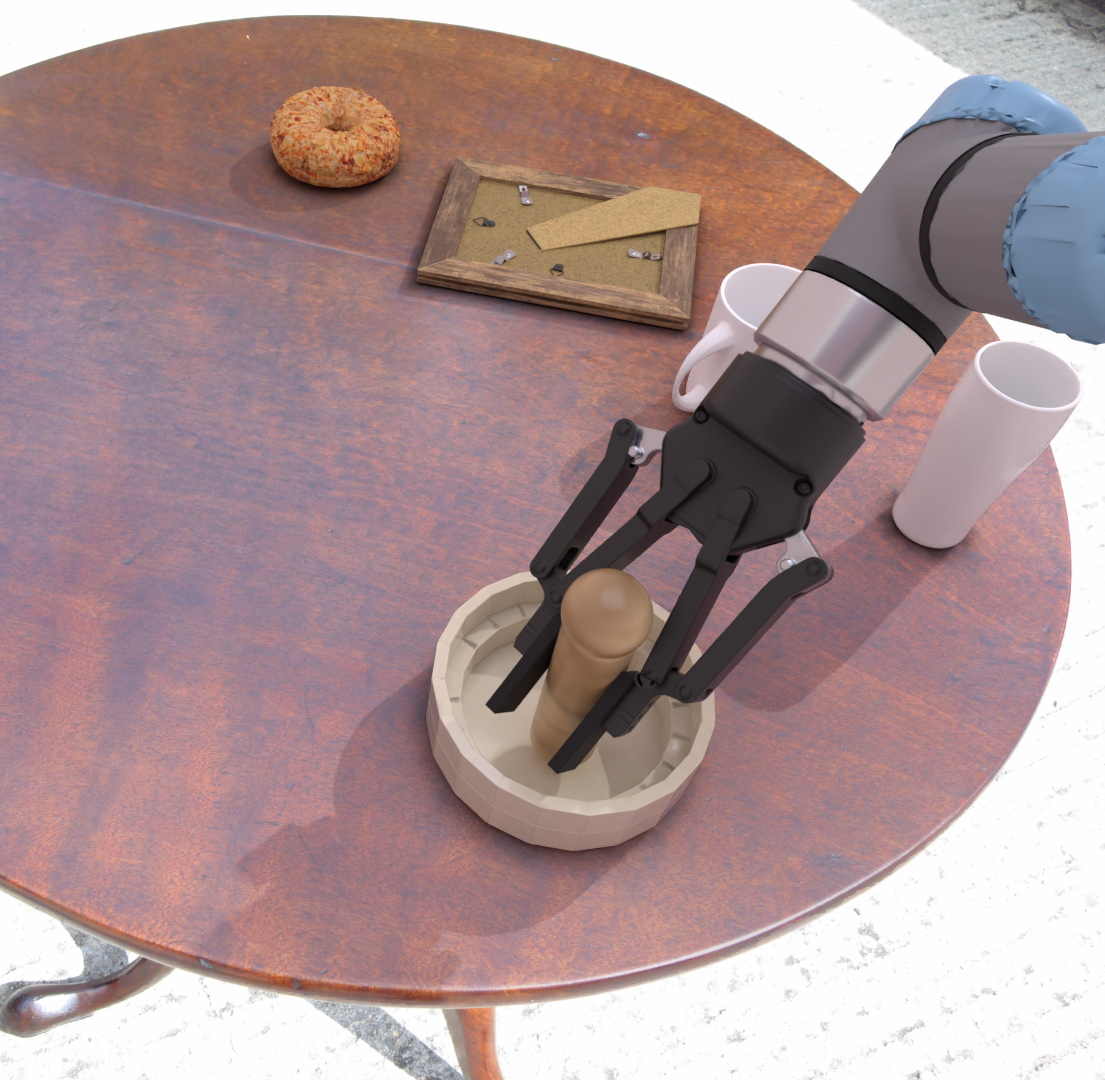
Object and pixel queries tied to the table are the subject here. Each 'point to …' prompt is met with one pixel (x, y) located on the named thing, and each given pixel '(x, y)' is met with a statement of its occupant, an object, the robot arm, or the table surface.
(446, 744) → the bowl
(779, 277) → the mug
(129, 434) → the table surface
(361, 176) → the bagel
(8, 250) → the table surface
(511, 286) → the picture frame
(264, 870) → the table surface
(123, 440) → the table surface
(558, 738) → the pestle
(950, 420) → the drinking glass
